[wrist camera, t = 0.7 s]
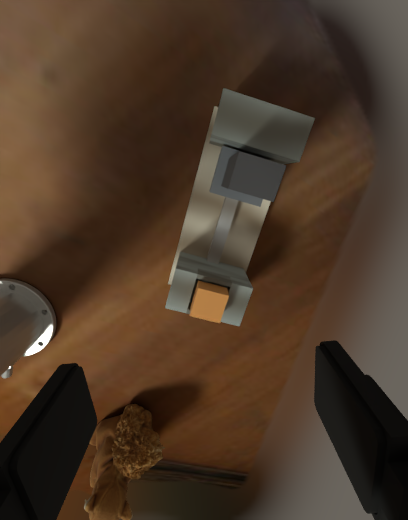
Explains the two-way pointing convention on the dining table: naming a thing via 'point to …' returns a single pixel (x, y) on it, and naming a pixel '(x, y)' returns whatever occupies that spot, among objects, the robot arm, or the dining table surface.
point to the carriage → (246, 177)
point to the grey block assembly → (231, 201)
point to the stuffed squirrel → (120, 461)
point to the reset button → (209, 301)
